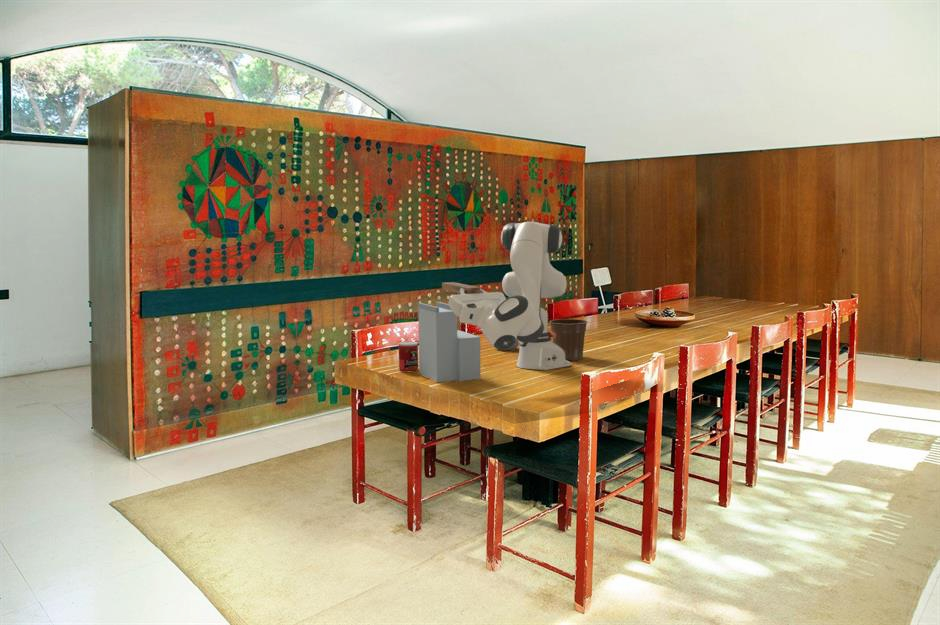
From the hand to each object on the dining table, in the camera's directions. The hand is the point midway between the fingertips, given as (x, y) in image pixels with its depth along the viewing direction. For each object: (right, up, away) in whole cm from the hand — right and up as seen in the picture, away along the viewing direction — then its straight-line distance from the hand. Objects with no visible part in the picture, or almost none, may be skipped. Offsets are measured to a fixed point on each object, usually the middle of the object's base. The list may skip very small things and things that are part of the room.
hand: (469, 289), depth 246 cm
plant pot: (+42, -28, +62) cm, 80 cm away
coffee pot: (+19, -26, +79) cm, 85 cm away
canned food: (-24, -31, +39) cm, 56 cm away
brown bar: (-3, -1, +7) cm, 7 cm away
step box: (-8, -33, +27) cm, 43 cm away
